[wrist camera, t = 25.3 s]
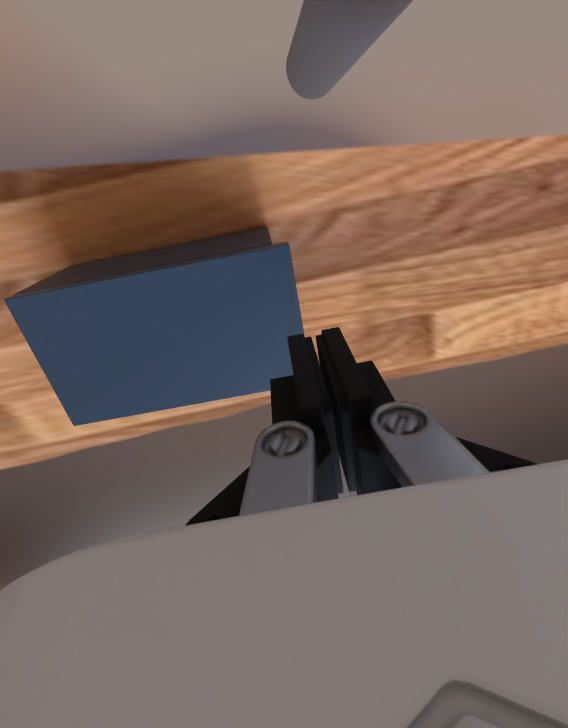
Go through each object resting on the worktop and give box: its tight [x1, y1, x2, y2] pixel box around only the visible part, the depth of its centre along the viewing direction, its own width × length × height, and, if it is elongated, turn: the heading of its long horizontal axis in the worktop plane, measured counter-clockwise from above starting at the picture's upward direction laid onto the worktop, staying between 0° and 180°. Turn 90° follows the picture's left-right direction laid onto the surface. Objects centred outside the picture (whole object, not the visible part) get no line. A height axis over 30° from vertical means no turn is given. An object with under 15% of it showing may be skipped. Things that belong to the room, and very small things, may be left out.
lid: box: [4, 242, 304, 426], centre depth 23 cm, size 16×9×1 cm, turn 100°
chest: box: [14, 227, 272, 295], centre depth 27 cm, size 15×9×8 cm, turn 100°
